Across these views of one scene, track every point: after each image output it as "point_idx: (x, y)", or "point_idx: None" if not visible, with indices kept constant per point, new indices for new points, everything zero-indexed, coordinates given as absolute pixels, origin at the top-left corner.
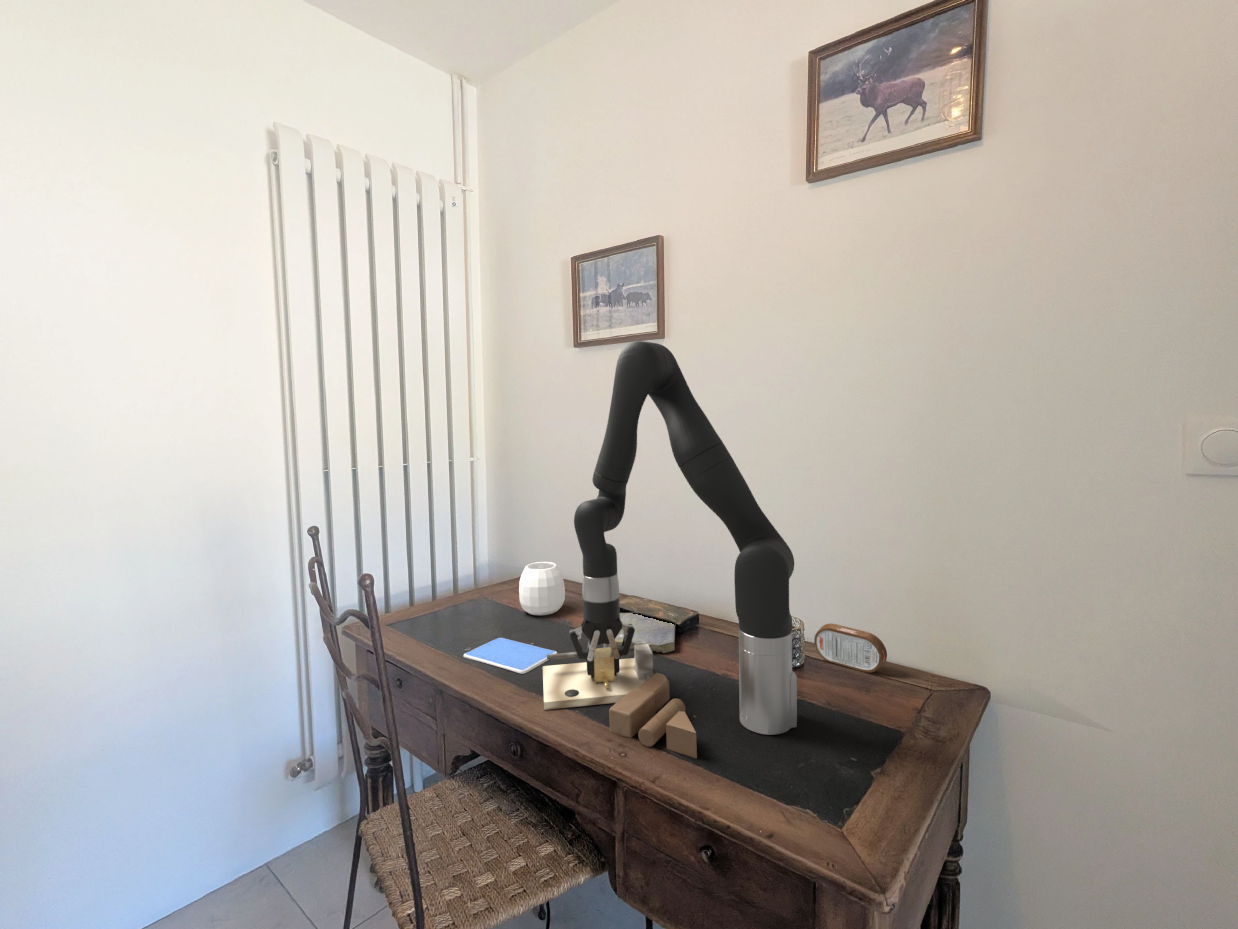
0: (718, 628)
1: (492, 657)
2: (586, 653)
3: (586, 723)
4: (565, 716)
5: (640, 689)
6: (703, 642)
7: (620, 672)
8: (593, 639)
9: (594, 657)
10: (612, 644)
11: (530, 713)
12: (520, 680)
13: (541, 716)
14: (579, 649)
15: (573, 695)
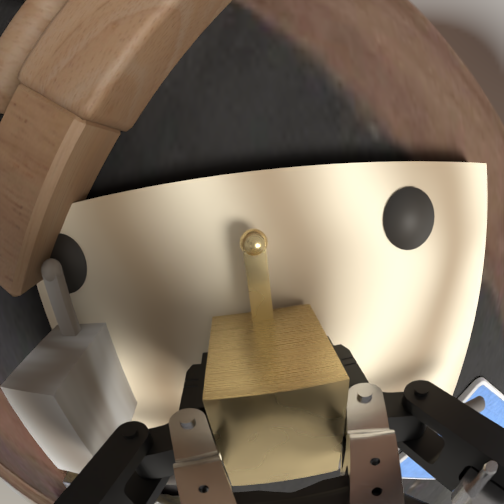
0: (33, 491)
1: (498, 418)
2: (391, 418)
3: (331, 37)
4: (409, 101)
5: (61, 94)
6: (33, 469)
7: None
8: (392, 501)
9: (345, 394)
10: (208, 485)
11: (493, 152)
12: (490, 347)
13: (470, 124)
14: (451, 416)
15: (405, 192)
